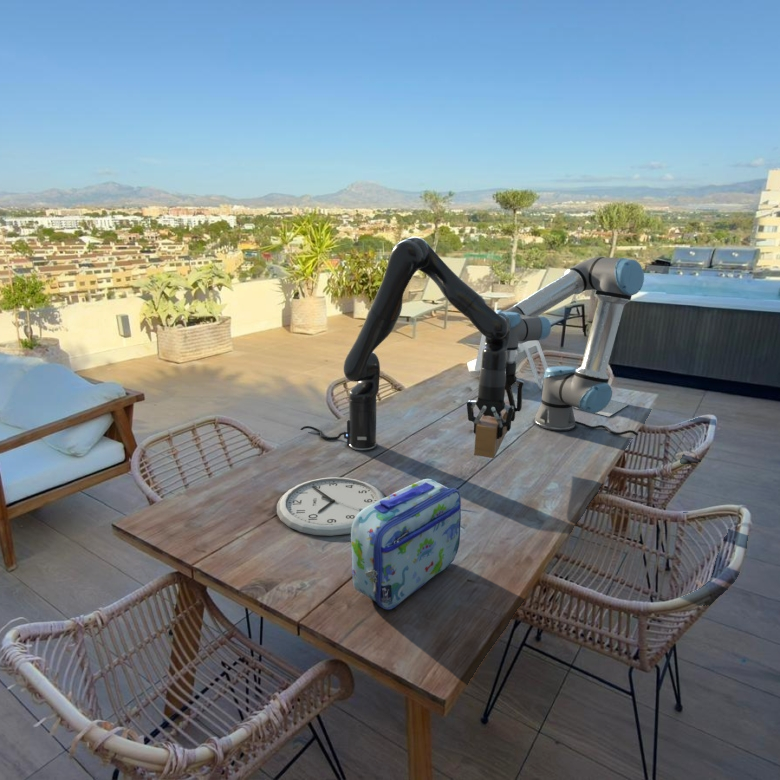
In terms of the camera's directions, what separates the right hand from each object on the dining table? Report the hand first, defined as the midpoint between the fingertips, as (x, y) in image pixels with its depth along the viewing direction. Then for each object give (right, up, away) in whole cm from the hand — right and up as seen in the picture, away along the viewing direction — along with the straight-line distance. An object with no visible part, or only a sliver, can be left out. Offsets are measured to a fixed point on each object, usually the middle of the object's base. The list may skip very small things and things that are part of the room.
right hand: (498, 427), depth 175 cm
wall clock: (-52, -19, -32) cm, 64 cm away
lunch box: (-33, -29, -62) cm, 76 cm away
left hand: (-7, -1, -19) cm, 20 cm away
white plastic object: (+21, +16, +83) cm, 87 cm away
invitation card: (+55, +5, +52) cm, 76 cm away
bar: (-4, -3, -9) cm, 10 cm away
